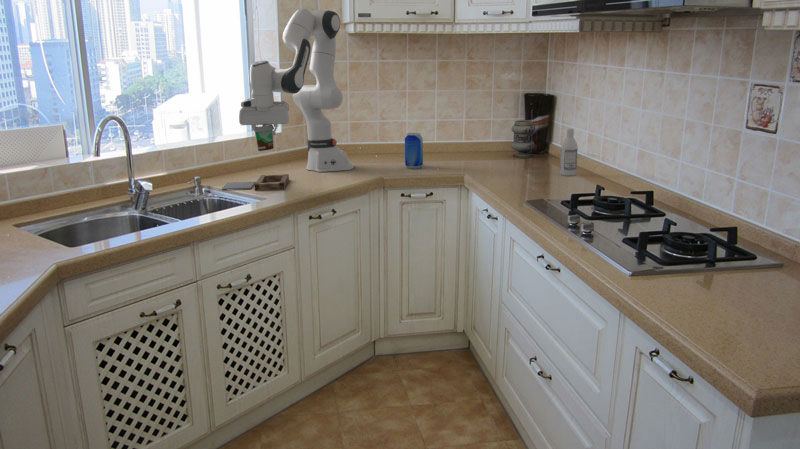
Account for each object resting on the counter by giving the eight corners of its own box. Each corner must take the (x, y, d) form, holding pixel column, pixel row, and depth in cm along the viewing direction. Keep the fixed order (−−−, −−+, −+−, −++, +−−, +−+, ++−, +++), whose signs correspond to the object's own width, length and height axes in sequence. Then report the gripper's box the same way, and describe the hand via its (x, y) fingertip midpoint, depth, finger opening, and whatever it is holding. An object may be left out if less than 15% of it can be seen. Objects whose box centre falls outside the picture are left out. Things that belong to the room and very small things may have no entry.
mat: (255, 182, 279) (255, 181, 278) (250, 189, 267) (250, 187, 267) (227, 183, 278) (227, 182, 278) (221, 190, 266) (221, 188, 266)
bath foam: (579, 175, 281) (582, 129, 275) (566, 176, 278) (569, 130, 272) (568, 172, 287) (571, 127, 281) (556, 174, 284) (558, 128, 278)
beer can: (402, 168, 302) (401, 134, 298) (409, 165, 310) (408, 132, 305) (419, 169, 299) (418, 135, 295) (425, 166, 307) (425, 132, 302)
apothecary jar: (512, 153, 333) (513, 119, 328) (536, 154, 329) (537, 119, 324) (508, 158, 323) (509, 122, 317) (532, 159, 319) (534, 122, 313)
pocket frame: (288, 179, 283) (288, 174, 283) (284, 189, 266) (283, 183, 265) (261, 180, 283) (261, 175, 282) (254, 190, 265) (254, 184, 264)
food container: (271, 150, 263) (268, 126, 261) (257, 151, 264) (254, 127, 261) (279, 146, 275) (276, 122, 272) (265, 147, 276) (262, 123, 273)
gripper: (289, 100, 268) (291, 133, 272) (239, 101, 267) (242, 135, 270) (287, 101, 262) (289, 135, 266) (236, 103, 260) (239, 137, 264)
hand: (265, 135), depth 268 cm, fingers closed on food container, 5 cm apart
